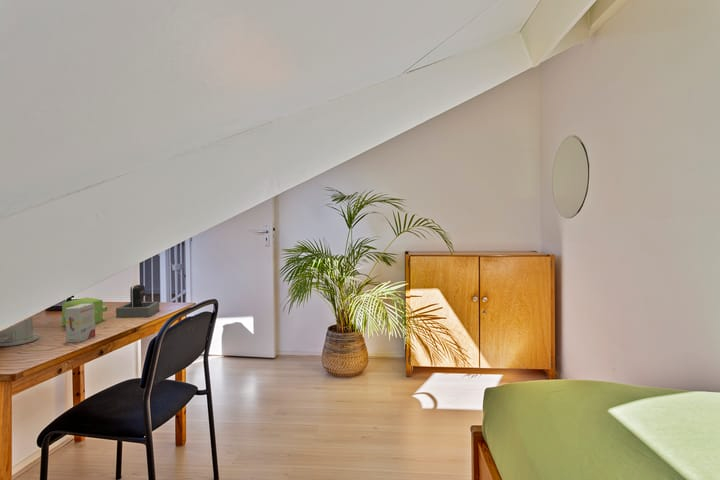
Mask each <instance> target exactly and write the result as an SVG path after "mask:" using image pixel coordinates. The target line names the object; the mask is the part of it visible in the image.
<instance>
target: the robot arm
mask: <svg viewBox="0 0 720 480" xmlns="http://www.w3.org/2000/svg"><path fill="white" fill-rule="evenodd" d="M39 338H40V334H39V333H37V332H34V316H33V317H31V318H29V319H27V320H25V321H23V322H21V323H19V324H17V325H15V326H13V327H10V328H8V329H6V330H4V331H2V332H0V347H12V346H19V345H24V344H28V343H32V342H35V341H37V340H38V339H39Z"/></svg>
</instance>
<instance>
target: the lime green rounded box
mask: <svg viewBox="0 0 720 480" xmlns="http://www.w3.org/2000/svg"><path fill="white" fill-rule="evenodd" d="M103 301H104V300H103V299H98V298H94V297H93V298H92V297H83V298H78V299H74V300H73V299H72V300H68V301H65V302H63V303H61V309H62V310H61V315H62V317H61V321H62V322H61V324H62V326H63V327H66V318H65V309H66V308H69V307H73V306H76V305H79V304H90V303H94V312H95V324H98V323H101V322H102V321H103V313H105V312H107V311H108V306H106V305H103Z"/></svg>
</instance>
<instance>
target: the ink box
mask: <svg viewBox="0 0 720 480" xmlns="http://www.w3.org/2000/svg"><path fill="white" fill-rule="evenodd" d="M65 318H66V326H65V342H66V343H81V341H82V342H84V341H86V340H89V339H90V338H92V337H95V336H96V323H95V312H94V303H90V304H79V305H76V306H73V307H69V308H66V309H65Z"/></svg>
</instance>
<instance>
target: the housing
mask: <svg viewBox="0 0 720 480" xmlns="http://www.w3.org/2000/svg"><path fill="white" fill-rule="evenodd" d="M141 303H142V306H143V307H131V301H128V302H126V303H124V304H123V305H120V306H119V307H116V309H115V318H116V319H117V318H118V319H120V318H121V319H122V318H125V319H126V318H150V317H152V316H153V315H155V314H156V313H158V312H159V311H160V301H141Z"/></svg>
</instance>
